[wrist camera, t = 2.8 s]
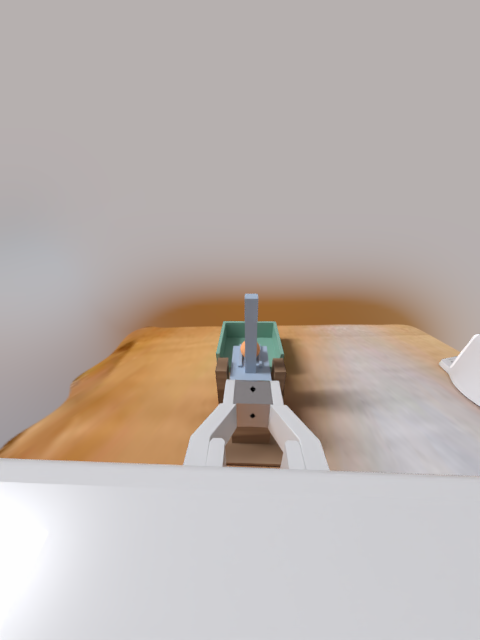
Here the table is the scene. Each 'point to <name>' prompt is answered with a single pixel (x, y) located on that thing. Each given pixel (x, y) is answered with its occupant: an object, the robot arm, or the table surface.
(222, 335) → the tray
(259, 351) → the ball
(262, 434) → the stand
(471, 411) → the table surface
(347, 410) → the table surface
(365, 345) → the table surface
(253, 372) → the lever
